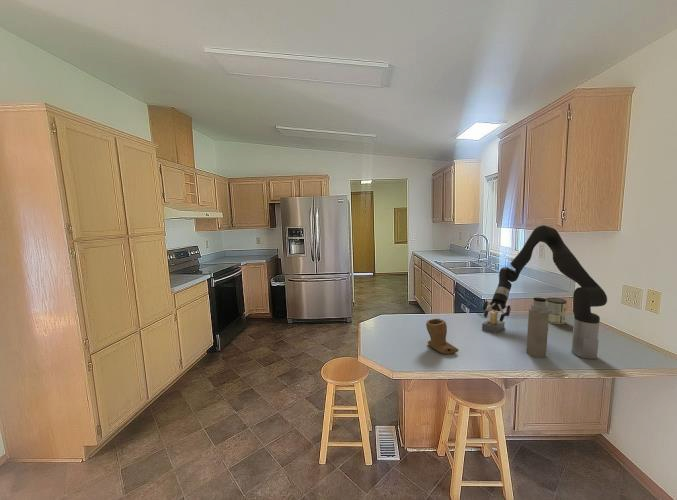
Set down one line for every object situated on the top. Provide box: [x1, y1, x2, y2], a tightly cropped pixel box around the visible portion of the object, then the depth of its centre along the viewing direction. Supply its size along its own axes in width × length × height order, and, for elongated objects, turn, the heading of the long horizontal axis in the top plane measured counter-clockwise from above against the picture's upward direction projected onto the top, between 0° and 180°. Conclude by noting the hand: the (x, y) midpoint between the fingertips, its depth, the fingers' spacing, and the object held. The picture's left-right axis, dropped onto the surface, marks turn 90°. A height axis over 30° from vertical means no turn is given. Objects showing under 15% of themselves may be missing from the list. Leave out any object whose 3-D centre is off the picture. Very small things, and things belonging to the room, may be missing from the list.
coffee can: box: [545, 297, 567, 325], centre depth 181 cm, size 10×10×14 cm
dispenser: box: [481, 318, 506, 334], centre depth 170 cm, size 12×8×6 cm, turn 132°
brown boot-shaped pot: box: [425, 318, 459, 355], centre depth 147 cm, size 15×12×15 cm
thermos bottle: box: [525, 297, 549, 359], centre depth 139 cm, size 8×8×28 cm
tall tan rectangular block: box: [489, 310, 499, 324], centre depth 169 cm, size 4×2×10 cm, turn 132°
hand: (492, 319), depth 168 cm, fingers open, 8 cm apart
